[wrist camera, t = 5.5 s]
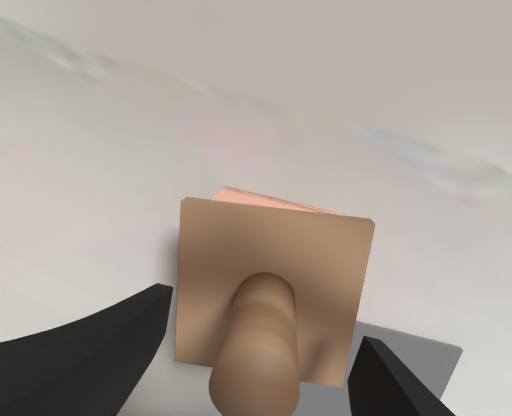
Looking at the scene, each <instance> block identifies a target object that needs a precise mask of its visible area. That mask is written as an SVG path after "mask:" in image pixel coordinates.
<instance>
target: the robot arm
mask: <svg viewBox="0 0 512 416" xmlns="http://www.w3.org/2000/svg"><path fill="white" fill-rule="evenodd" d="M172 291H173V287H170V286H167V285H163V284H159V283H157V284H155V285H153V286H151V287H149V288H147V289H145V290H143V291H141V292H139V293H137V294H135V295H133V296H131V297H129V298H127V299H125V300H123V301H121V302H119V303H117V304H115V305H113V306H110V307H108V308H106V309H104V310H101V311H99V312H97V313H94V314H92V315H90V316H87V317H85V318H82V319H80V320H77V321H74V322H72V323H69V324H66V325H63V326H60V327H57V328H54V329H51V330H47V331H43V332H40V333H36V334H32V335H29V336H25V337H21V338H18V339H14V340H10V341H5V342H1V343H0V416H116V415H117V414H118V412H119V411H120V409H121V407H122V406H123V404H124V403H125V401H126V400H127V398H128V397H129V395H130V394H131V392H132V391H133V389H134V388H135V386H136V384H137V383H138V381H139V380H140V378H141V377H142V375H143V374H144V372H145V371H146V369H147V367H148V366H149V364H150V363H151V361H152V360H153V358H154V356H155V354H156V352H157V350H158V348H159V346H160V344H161V342H162V340H163V338H164V336H165V333H166V327H167V321H168V315H169V309H170V303H171V297H172ZM347 383H348V393H349V402H350V410H351V415H352V416H455V415H454V414H453V413H452V412H451V411H450V410H449V409H448V408H447V407H446V406H445V405H444V404H443V403H442V402H441V401H440V400H439V399H438V398H437V397H436V396H435V395H434V394H433V393H432V392H431V391H430V390H429V389H428V388H427V387H426V386H425V385H424V384H423V383H422V382H421V381H420V380H419V379H418V378H417V377H416V376H415V375H414V374H413V373H412V372H411V371H410V370H409V368H408V367H407V366H406V365H405V364H404V363H403V362H402V361H401V360H400V359H399V358H398V357H397V356H396V355H395V354H394V353H393V351H392V350H391V349H390V348H389V347H388V346H387V345H386V344H385V343H384V342H382V341H381V340H380V339H376V338H372V337H368V336H363V339H362V342H361V344H360V347H359V350H358V353H357V355H356V358H355V361H354V364H353V366H352V369H351V372H350V375H349V378H348V380H347Z"/></svg>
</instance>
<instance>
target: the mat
mask: <svg viewBox="0 0 512 416" xmlns="http://www.w3.org/2000/svg"><path fill="white" fill-rule="evenodd" d="M363 336H368V337H372V338H376V339H380V340H381V341H382V342H384V343H385V344H386V345H387V346H388V347H389V348H390V349H391V350H392V351H393V353H394V354H395V355H396V356H397V357H398V358H399V359H400V360H401V361H402V362H403V363H404V364H405V365H406V366H407V367H408V368H409V370H410V371H411V372H412V373H413V374H414V375H415V376H416V377H417V378H418V379H419V380H420V381H421V382H422V383H423V384H424V385H425V386H426V387H427V388H428V389H429V390H430V391H431V392H432V393H433V394H434V395H435V396H436V397H437V398H438V399H439V400H440V399H441V396H442V394H443V392H444V390H445V388H446V386H447V384H448V381H449V379H450V377H451V375H452V373H453V371H454V369H455V367H456V364H457V362H458V360H459V358H460V356H461V354H462V352H463V350H462V349H461V348H460V347H457V346H453V345H449V344H445V343H441V342H437V341H433V340H429V339H425V338H421V337H417V336H413V335H409V334H405V333H401V332H398V331H394V330H390V329H386V328H382V327H378V326H374V325H370V324H366V323H362V322H358V321H356V322H355V327H354V332H353V337H352V342H351V347H350V352H349V357H348V362H347V367H346V372H345V376H344V381H343V386H342V388H340V387H333V386H327V385H321V384H314V383H308V382H302V381H299V392H300V395H299V402H298V405H297V407H296V409H295V411H294V413H293V414H292V415H291V416H352V415H351V410H350V402H349V393H348V383H347V380H348V378H349V375H350V372H351V369H352V366H353V364H354V361H355V358H356V355H357V353H358V350H359V347H360V344H361V342H362V339H363Z"/></svg>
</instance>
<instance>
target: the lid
mask: <svg viewBox="0 0 512 416" xmlns="http://www.w3.org/2000/svg"><path fill="white" fill-rule="evenodd" d="M374 228H375V223H374V222H373V221H372V220H371V219H368V218H360V217H351V216H343V215H334V214H326V213H317V212H309V211H300V210H292V209H283V208H275V207H266V206H258V205H249V204H241V203H232V202H224V201H215V200H207V199H198V198H190V197H186V198H185V199H183V200H182V201H181V210H180V238H179V265H178V293H177V320H176V348H175V361H176V362H182V363H188V364H195V365H201V366H207V367H213V370H212V373H211V376H210V380H209V393H210V397H211V400H212V402H213V404H214V405H215V407H216V408H217V410H218V411H219V412H220V413H221V414H222V415H223V416H291V415H292V414H293V413H294V411H295V409H296V407H297V405H298V402H299V395H300V392H299V381H302V382H308V383H314V384H321V385H327V386H333V387H340V388H342V386H343V381H344V376H345V372H346V367H347V362H348V357H349V352H350V347H351V342H352V337H353V332H354V327H355V322H356V317H357V312H358V307H359V302H360V297H361V292H362V288H363V283H364V278H365V273H366V268H367V263H368V258H369V253H370V248H371V243H372V238H373V233H374Z"/></svg>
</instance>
